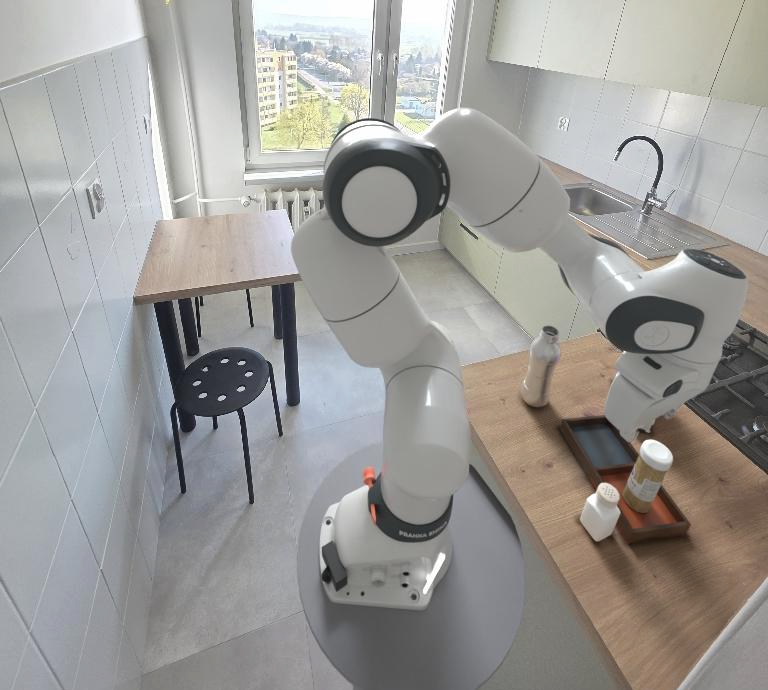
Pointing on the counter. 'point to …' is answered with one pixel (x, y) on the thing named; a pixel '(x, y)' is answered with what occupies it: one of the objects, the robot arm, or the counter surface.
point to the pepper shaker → (601, 512)
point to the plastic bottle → (541, 367)
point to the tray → (621, 478)
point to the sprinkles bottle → (647, 475)
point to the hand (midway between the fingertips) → (647, 425)
